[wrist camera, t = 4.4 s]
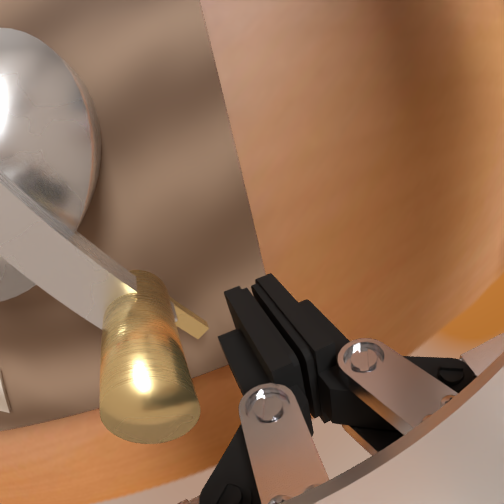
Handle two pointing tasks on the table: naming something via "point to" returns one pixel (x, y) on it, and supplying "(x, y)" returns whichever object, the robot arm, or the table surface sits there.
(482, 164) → the table surface
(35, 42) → the crank handle
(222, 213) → the stand
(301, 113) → the table surface
